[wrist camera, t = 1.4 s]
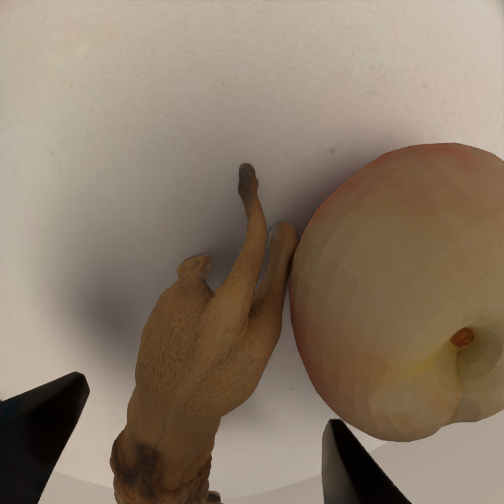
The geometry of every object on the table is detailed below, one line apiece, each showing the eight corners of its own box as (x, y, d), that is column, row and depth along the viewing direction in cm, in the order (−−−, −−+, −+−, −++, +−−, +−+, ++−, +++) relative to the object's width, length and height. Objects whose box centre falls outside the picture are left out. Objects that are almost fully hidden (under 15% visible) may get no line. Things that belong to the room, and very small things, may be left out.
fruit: (267, 168, 10) (233, 159, 2) (451, 145, 9) (606, 148, 1) (301, 351, 12) (311, 516, 4) (454, 314, 11) (545, 419, 3)
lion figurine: (241, 435, 14) (218, 565, 6) (157, 412, 14) (103, 529, 6) (315, 178, 10) (476, 221, 1) (177, 151, 10) (-48, 142, 2)
